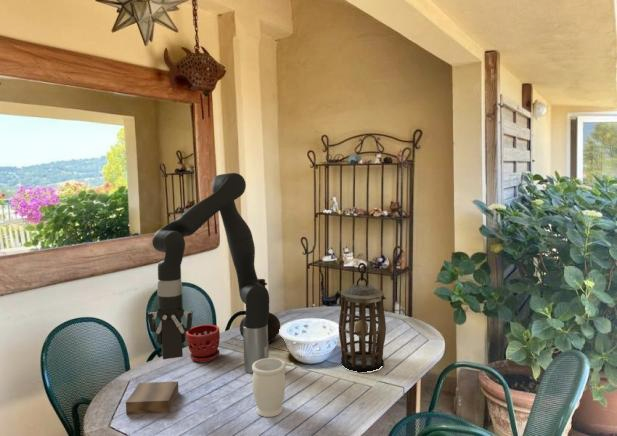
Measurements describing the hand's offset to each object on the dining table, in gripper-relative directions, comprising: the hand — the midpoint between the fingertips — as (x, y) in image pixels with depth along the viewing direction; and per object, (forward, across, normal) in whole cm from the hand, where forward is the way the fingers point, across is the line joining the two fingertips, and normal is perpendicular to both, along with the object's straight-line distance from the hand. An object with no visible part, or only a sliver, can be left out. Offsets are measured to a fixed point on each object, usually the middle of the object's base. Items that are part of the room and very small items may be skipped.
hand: (171, 343), depth 144 cm
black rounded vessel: (+20, -26, -53) cm, 62 cm away
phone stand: (+3, 0, 0) cm, 3 cm away
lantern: (+19, -67, -24) cm, 74 cm away
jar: (+20, -31, +7) cm, 38 cm away
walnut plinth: (+20, +6, -1) cm, 21 cm away
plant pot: (+20, -4, -36) cm, 42 cm away
